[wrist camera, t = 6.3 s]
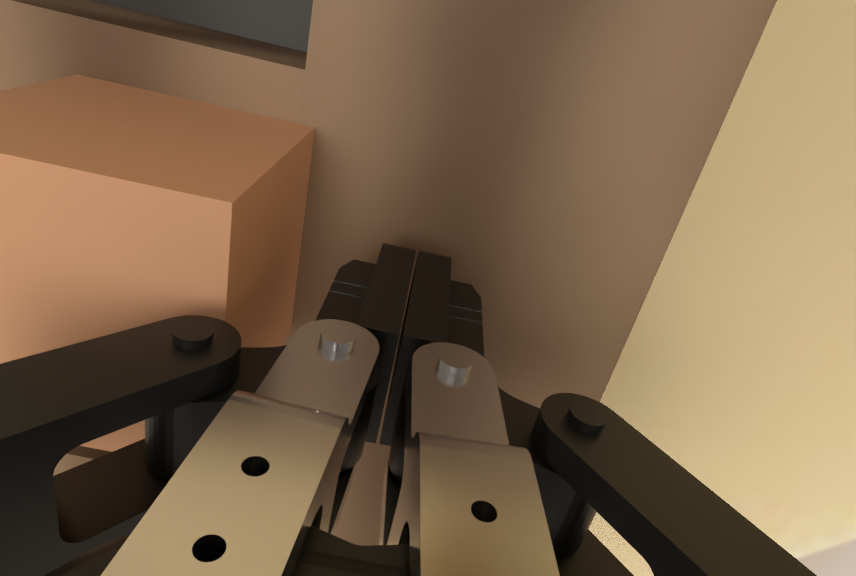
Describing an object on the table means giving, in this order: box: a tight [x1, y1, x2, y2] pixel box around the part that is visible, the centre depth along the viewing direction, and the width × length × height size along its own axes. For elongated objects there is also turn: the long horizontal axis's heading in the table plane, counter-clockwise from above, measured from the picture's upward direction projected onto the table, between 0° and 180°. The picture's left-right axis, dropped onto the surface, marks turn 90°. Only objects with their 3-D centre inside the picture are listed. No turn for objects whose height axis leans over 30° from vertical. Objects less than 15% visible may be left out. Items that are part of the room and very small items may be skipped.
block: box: [0, 74, 315, 452], centre depth 11 cm, size 5×5×5 cm
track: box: [0, 0, 777, 546], centre depth 13 cm, size 22×20×6 cm
